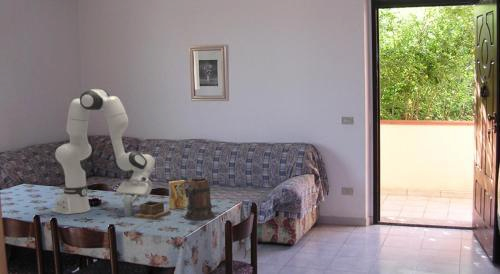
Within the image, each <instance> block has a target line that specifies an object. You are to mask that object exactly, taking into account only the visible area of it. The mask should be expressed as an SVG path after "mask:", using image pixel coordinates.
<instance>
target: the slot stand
mask: <svg viewBox="0 0 500 274" xmlns="http://www.w3.org/2000/svg"><path fill="white" fill-rule="evenodd" d="M168 215H171V210H166V209H165V207H164V202H162V201H153V200H150V201H146V202H144V203H140V204H139V212H136V213H133V218H137V219H145V220H147V219H148V220H157V219H160V218H163V217H165V216H168Z"/></svg>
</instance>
